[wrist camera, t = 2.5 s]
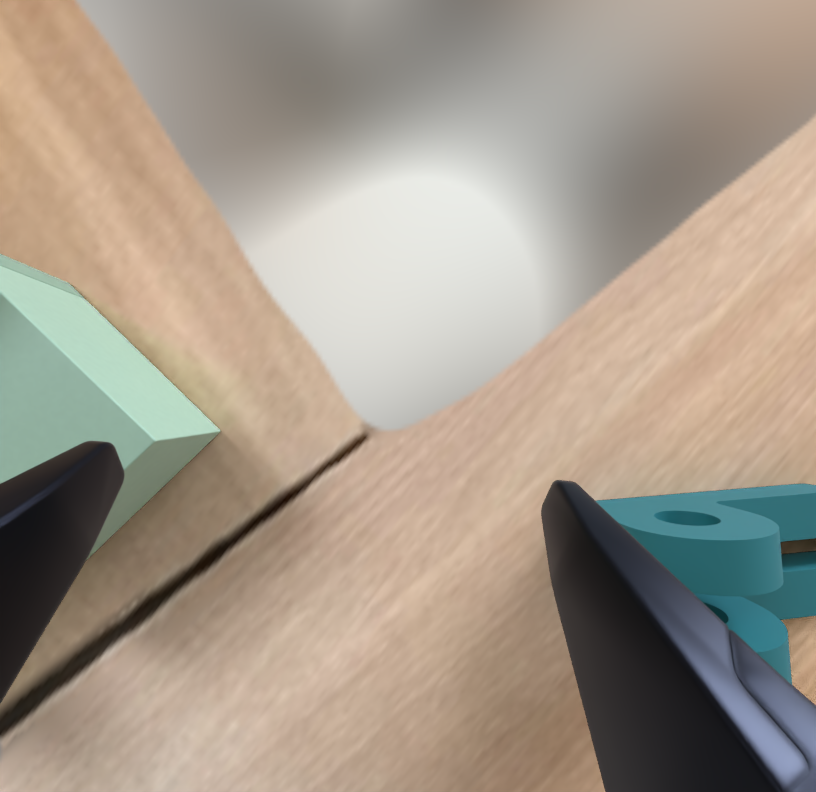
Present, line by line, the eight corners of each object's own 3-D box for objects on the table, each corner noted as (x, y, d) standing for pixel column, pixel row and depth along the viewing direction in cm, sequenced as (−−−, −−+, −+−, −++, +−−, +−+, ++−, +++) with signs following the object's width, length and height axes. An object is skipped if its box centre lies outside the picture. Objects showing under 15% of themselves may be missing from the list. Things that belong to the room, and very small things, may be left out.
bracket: (581, 619, 24) (685, 720, 16) (573, 502, 24) (672, 546, 16) (856, 588, 26) (1068, 665, 18) (846, 479, 26) (1053, 509, 18)
